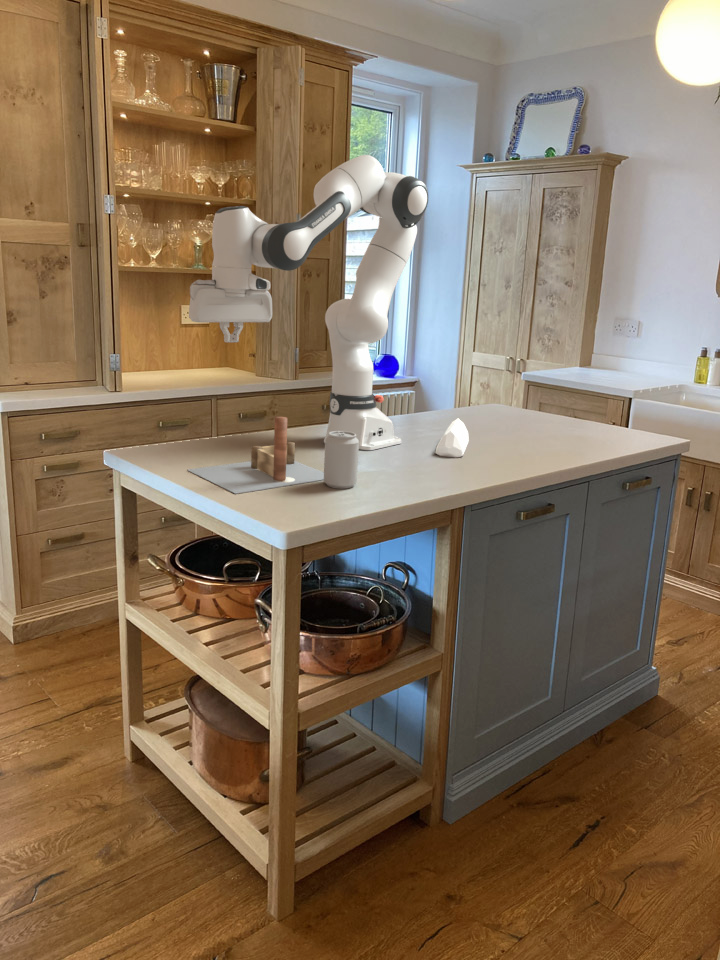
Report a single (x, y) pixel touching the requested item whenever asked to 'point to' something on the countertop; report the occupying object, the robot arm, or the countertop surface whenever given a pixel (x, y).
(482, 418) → the countertop surface
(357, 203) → the robot arm
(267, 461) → the rail
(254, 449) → the fixed rail
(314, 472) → the card
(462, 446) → the white chamfered prism
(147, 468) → the countertop surface
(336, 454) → the can
